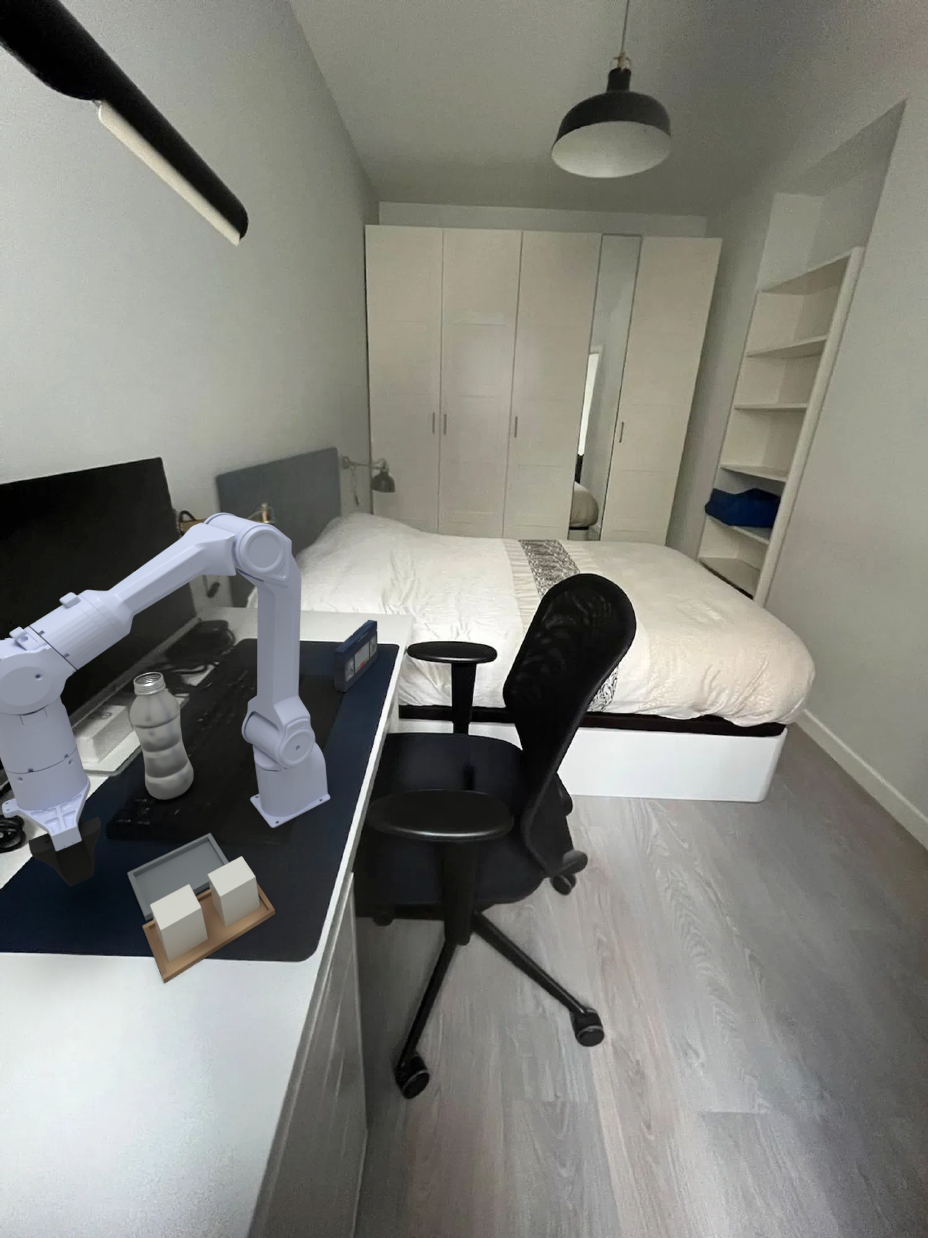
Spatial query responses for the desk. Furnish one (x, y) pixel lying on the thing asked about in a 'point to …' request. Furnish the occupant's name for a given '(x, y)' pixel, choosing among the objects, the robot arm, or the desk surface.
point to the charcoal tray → (176, 872)
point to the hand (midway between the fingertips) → (75, 857)
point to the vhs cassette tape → (355, 655)
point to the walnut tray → (215, 934)
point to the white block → (179, 922)
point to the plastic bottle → (160, 737)
